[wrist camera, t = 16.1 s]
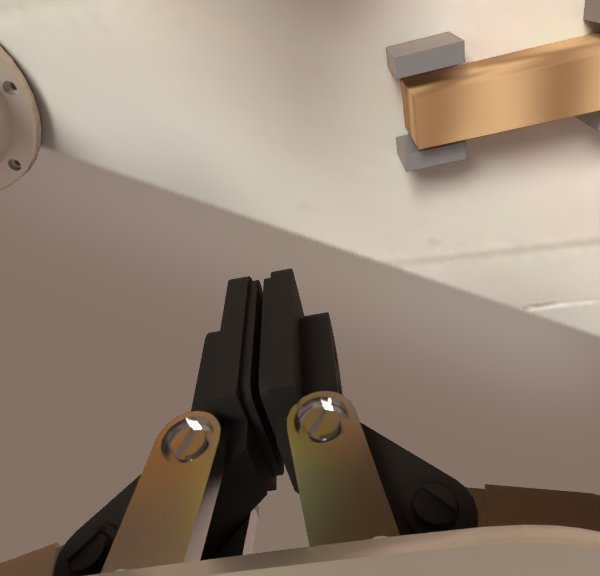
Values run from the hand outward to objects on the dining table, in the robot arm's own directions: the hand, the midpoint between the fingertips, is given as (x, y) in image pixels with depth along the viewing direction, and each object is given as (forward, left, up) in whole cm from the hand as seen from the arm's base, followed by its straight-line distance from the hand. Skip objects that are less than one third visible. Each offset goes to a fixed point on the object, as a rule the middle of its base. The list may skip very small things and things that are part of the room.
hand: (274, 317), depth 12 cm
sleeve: (+9, -2, -24) cm, 26 cm away
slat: (+15, -2, -24) cm, 29 cm away
